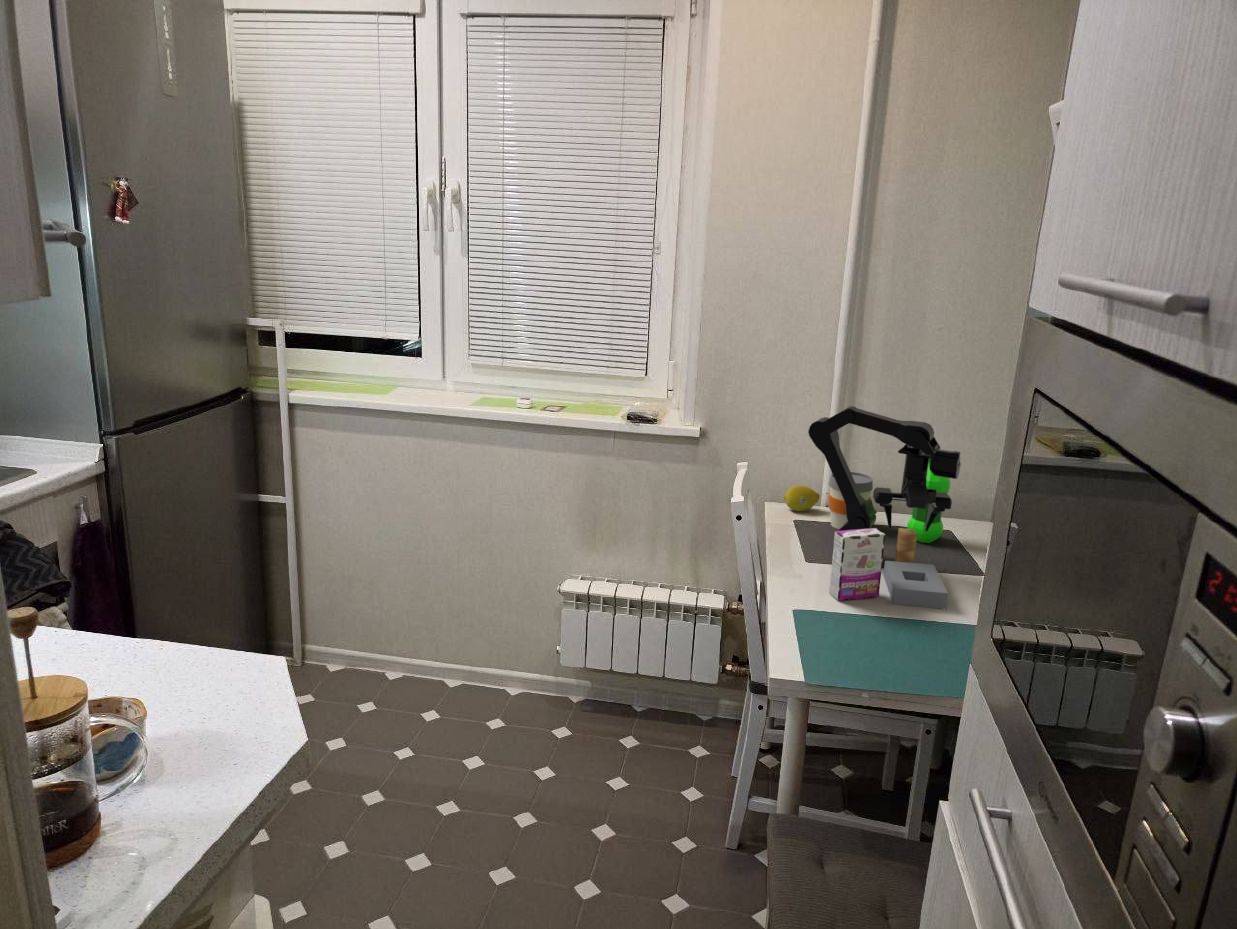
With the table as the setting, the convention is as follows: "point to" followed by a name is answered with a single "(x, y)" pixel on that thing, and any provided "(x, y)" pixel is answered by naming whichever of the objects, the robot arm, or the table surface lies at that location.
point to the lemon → (801, 498)
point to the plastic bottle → (921, 514)
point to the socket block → (915, 584)
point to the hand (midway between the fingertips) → (907, 529)
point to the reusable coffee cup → (837, 501)
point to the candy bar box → (857, 564)
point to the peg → (906, 545)
